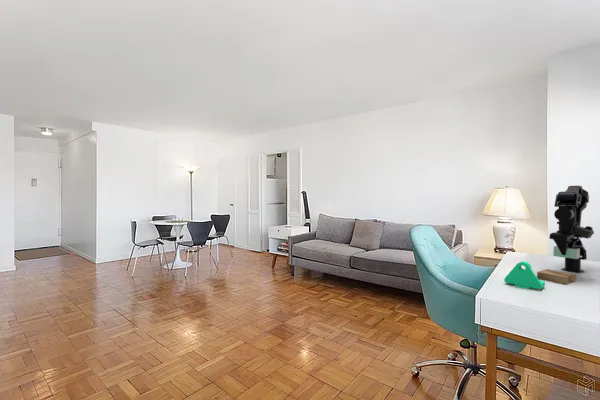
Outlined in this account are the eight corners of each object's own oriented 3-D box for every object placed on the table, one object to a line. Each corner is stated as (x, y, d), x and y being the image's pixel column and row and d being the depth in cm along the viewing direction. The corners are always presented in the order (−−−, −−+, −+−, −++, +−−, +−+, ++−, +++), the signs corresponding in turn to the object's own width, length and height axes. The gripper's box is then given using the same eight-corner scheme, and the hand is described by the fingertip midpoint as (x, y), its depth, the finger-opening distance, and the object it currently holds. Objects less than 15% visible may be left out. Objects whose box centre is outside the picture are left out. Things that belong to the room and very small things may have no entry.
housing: (556, 254, 140) (556, 245, 140) (579, 257, 133) (579, 248, 133) (553, 255, 137) (553, 246, 137) (576, 259, 130) (577, 249, 130)
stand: (547, 275, 137) (547, 268, 137) (575, 281, 129) (575, 274, 128) (536, 278, 132) (537, 271, 132) (565, 284, 124) (565, 277, 124)
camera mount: (545, 287, 121) (545, 262, 120) (540, 291, 116) (541, 265, 115) (510, 281, 130) (510, 257, 129) (504, 284, 125) (504, 260, 124)
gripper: (582, 222, 123) (581, 260, 123) (599, 220, 132) (598, 255, 133) (549, 220, 133) (548, 255, 133) (567, 218, 142) (566, 251, 142)
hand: (566, 254), depth 135 cm, fingers closed on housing, 5 cm apart
